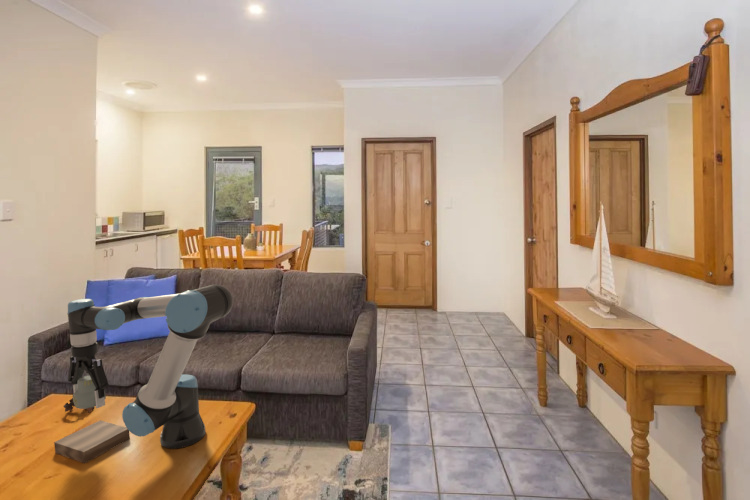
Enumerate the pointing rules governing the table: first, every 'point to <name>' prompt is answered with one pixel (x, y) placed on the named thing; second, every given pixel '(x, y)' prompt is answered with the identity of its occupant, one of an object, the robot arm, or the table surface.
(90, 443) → the walnut stand
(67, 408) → the brown curved piece
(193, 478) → the table surface
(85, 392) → the air freshener
